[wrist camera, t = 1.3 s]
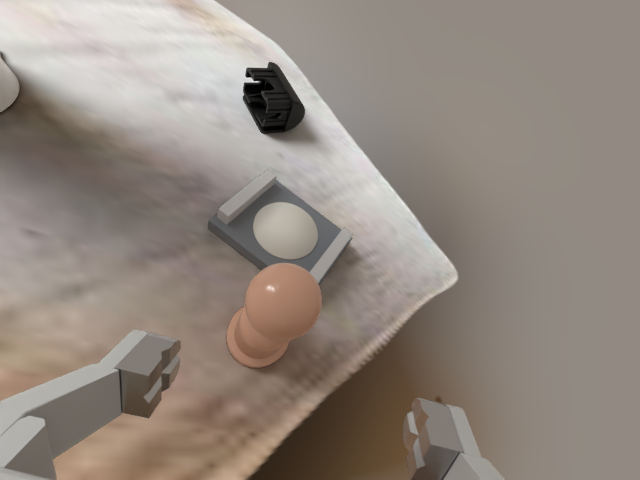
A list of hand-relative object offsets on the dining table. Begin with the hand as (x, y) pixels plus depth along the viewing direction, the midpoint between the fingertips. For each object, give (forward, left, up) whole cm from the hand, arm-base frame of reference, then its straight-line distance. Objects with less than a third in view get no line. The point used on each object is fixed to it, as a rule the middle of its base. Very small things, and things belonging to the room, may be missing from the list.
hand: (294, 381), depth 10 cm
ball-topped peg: (+2, +8, -25) cm, 27 cm away
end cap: (-3, +47, -26) cm, 54 cm away
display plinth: (+3, +22, -25) cm, 34 cm away
